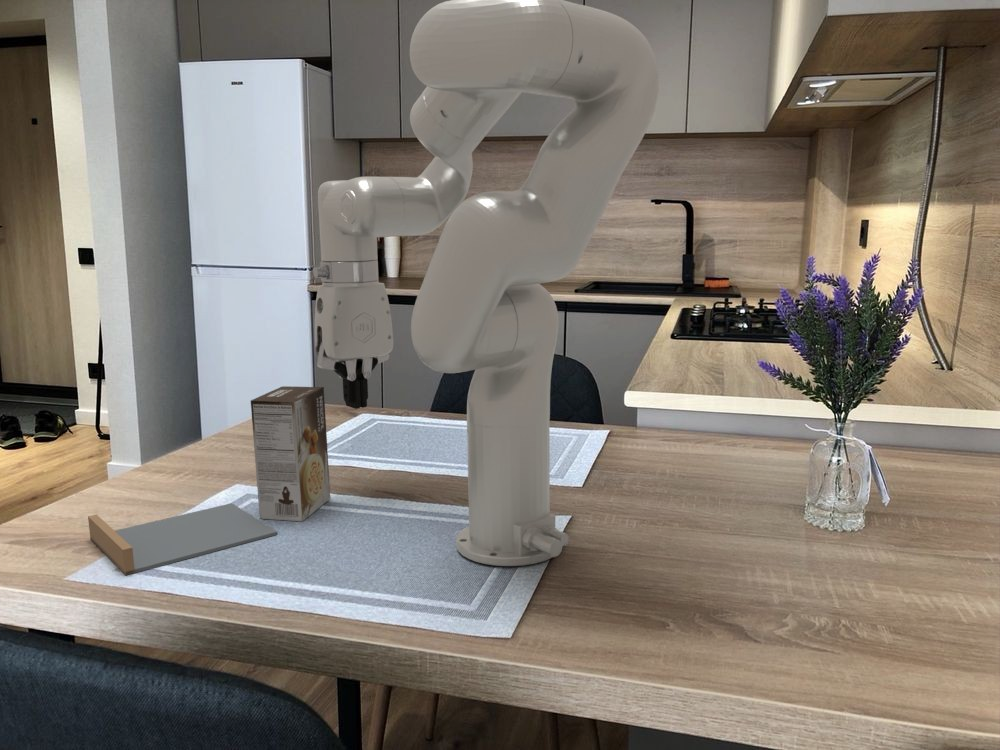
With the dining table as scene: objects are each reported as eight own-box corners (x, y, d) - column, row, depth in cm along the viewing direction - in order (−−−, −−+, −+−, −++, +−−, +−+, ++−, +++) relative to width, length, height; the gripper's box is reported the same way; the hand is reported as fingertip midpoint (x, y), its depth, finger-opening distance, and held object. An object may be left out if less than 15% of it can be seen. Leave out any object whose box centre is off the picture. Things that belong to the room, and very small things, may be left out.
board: (277, 534, 104) (276, 511, 103) (125, 575, 93) (122, 549, 92) (232, 505, 114) (230, 484, 114) (90, 539, 103) (87, 516, 103)
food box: (289, 496, 118) (281, 384, 115) (331, 499, 117) (325, 386, 114) (257, 519, 109) (249, 399, 106) (303, 522, 108) (296, 400, 105)
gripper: (313, 278, 106) (320, 420, 109) (411, 272, 115) (416, 402, 119) (286, 276, 112) (294, 410, 115) (382, 270, 121) (387, 394, 124)
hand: (356, 406), depth 117 cm, fingers closed
